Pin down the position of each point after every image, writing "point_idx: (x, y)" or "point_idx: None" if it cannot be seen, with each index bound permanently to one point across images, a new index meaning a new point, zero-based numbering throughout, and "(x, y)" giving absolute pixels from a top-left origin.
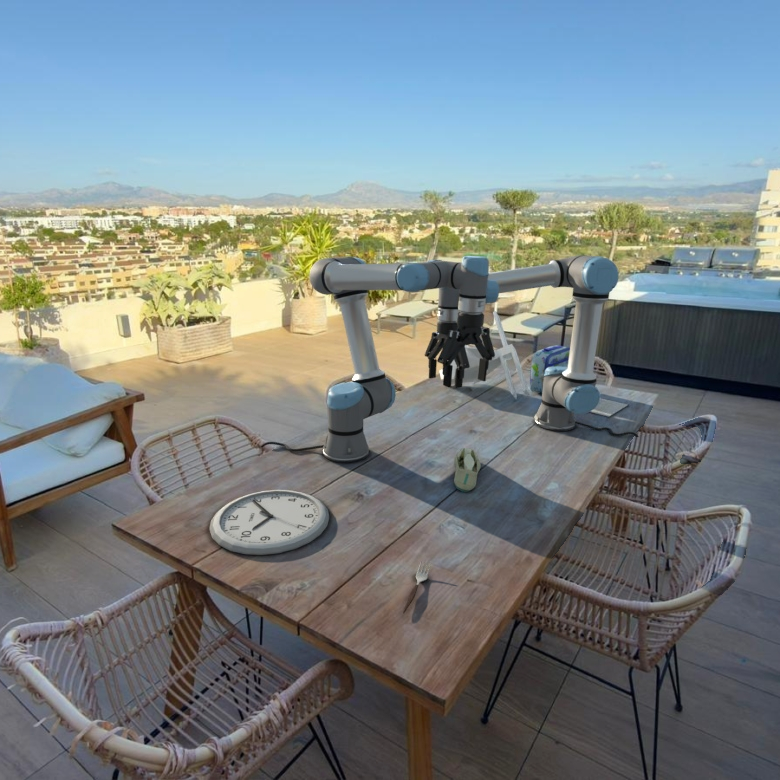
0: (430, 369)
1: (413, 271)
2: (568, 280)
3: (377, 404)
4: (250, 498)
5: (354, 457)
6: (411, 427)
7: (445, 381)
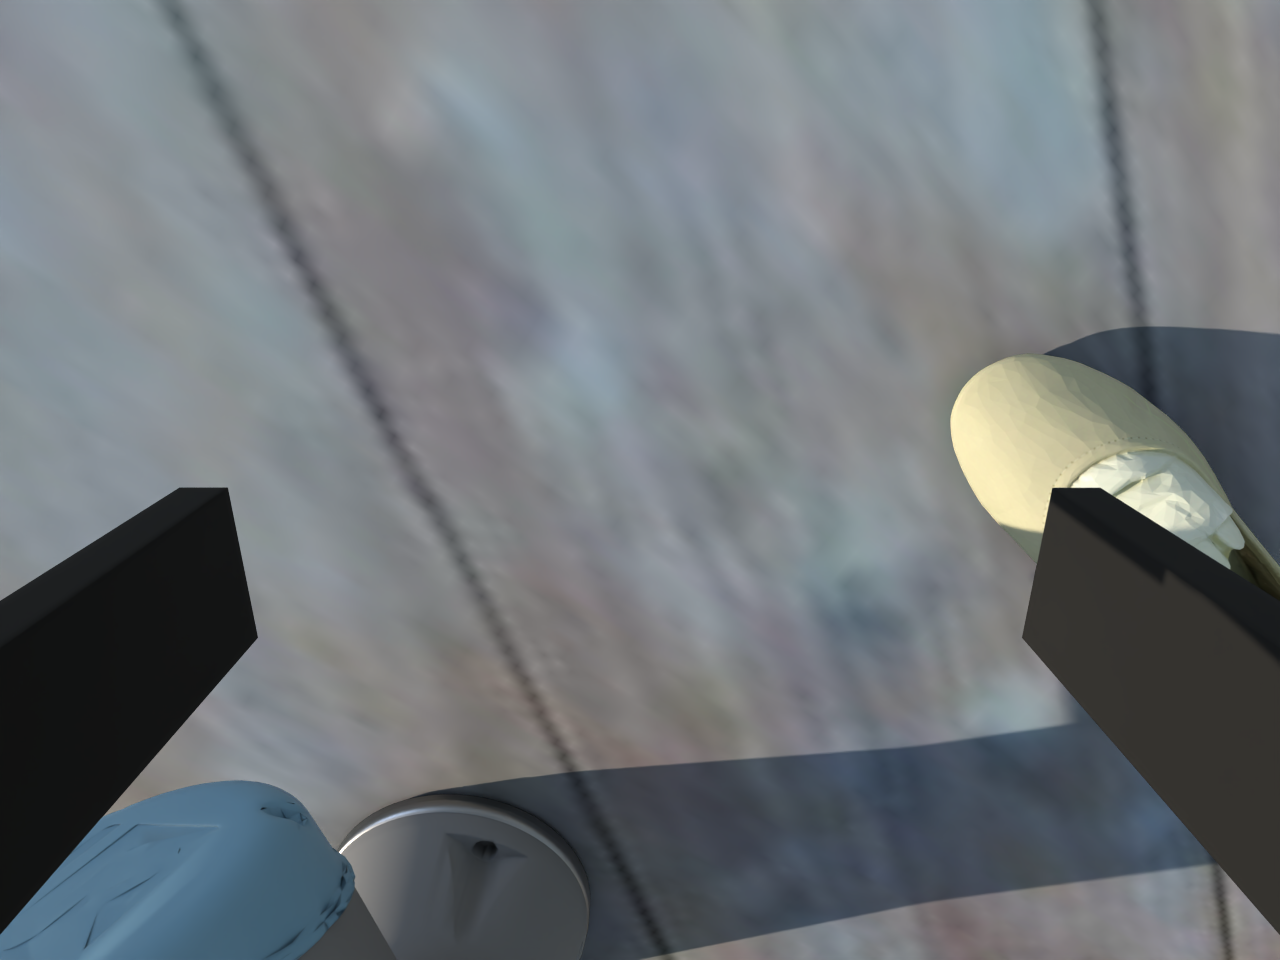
0: (136, 772)
1: None
2: None
3: None
4: None
5: (586, 934)
6: (237, 329)
7: None
